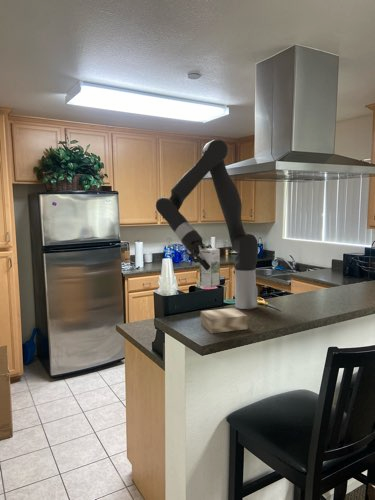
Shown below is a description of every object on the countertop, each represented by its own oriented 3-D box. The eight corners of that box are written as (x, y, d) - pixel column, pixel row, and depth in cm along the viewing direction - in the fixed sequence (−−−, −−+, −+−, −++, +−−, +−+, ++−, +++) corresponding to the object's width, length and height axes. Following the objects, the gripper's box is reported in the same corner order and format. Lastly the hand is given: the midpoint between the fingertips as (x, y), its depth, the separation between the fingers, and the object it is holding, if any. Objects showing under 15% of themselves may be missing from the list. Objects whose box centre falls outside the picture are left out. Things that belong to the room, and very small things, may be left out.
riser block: (234, 320, 144) (234, 307, 144) (247, 328, 133) (247, 315, 132) (200, 323, 140) (200, 311, 140) (211, 333, 129) (211, 319, 128)
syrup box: (208, 283, 145) (207, 247, 143) (220, 285, 141) (219, 248, 139) (199, 286, 140) (198, 249, 139) (211, 287, 136) (210, 249, 135)
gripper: (181, 230, 137) (207, 263, 131) (204, 228, 148) (229, 259, 142) (171, 244, 141) (196, 276, 135) (194, 241, 152) (218, 271, 146)
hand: (213, 267), depth 139 cm, fingers closed on syrup box, 5 cm apart
